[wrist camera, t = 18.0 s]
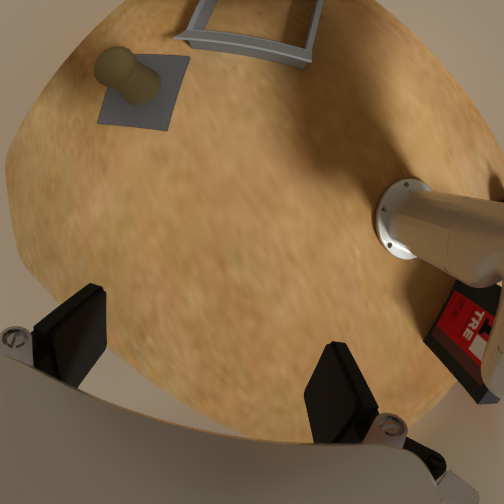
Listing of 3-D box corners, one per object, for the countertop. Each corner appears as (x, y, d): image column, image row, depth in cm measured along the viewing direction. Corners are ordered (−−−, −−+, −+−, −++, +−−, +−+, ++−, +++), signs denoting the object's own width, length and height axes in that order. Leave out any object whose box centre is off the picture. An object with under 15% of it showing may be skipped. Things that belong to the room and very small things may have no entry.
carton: (323, -11, 27) (334, -37, 19) (300, 83, 32) (311, 62, 25) (227, -29, 26) (224, -56, 18) (186, 62, 31) (172, 38, 24)
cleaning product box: (462, 266, 39) (536, 307, 20) (483, 279, 40) (547, 319, 21) (423, 341, 43) (477, 404, 24) (446, 348, 44) (497, 403, 25)
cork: (169, 82, 32) (142, 53, 21) (140, 113, 33) (103, 94, 22) (144, 62, 31) (113, 32, 20) (116, 92, 32) (78, 70, 21)
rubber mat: (190, 57, 31) (189, 56, 31) (167, 131, 34) (166, 130, 34) (121, 55, 30) (120, 54, 30) (98, 123, 33) (97, 123, 33)
